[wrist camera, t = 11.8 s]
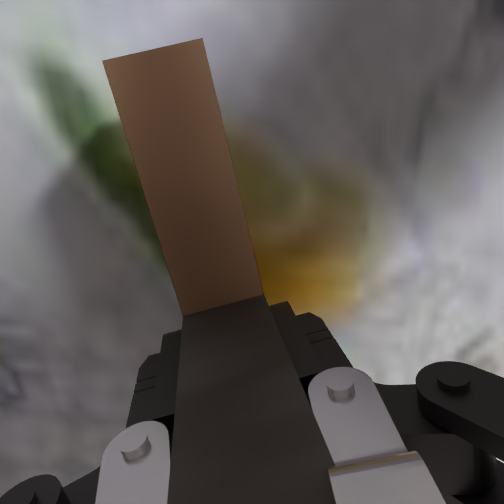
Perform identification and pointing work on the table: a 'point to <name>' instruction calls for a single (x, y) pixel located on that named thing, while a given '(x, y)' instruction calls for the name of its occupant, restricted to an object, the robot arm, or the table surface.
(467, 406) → the robot arm
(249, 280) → the scraper
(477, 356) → the table surface
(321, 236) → the table surface
